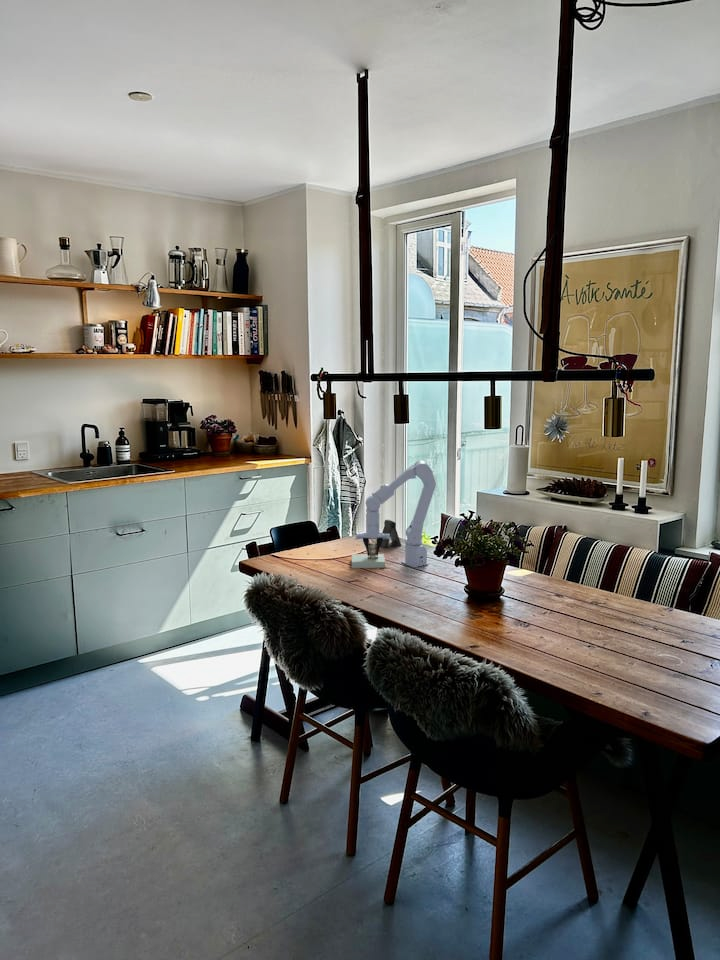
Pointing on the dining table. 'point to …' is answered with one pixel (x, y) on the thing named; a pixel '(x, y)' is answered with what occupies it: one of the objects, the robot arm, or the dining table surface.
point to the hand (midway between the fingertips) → (372, 555)
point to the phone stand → (390, 529)
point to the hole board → (367, 561)
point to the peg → (372, 550)
